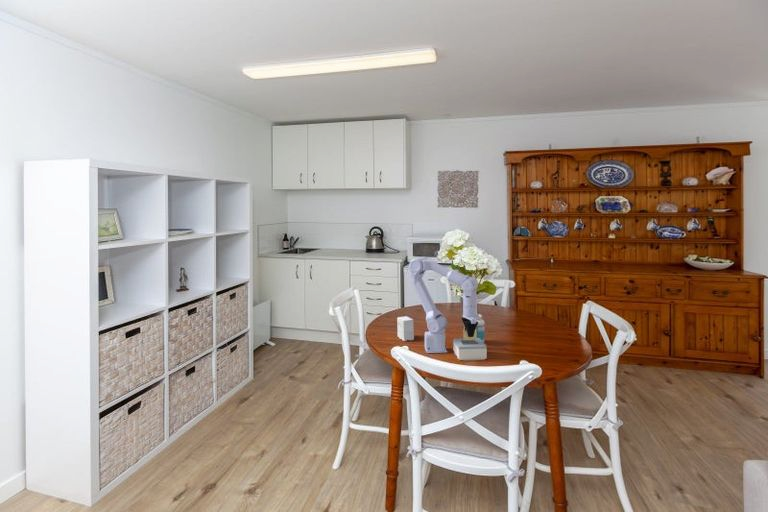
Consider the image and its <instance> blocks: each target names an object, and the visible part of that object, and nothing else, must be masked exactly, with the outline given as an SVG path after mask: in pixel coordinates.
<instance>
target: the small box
mask: <svg viewBox="0 0 768 512" xmlns="http://www.w3.org/2000/svg"><path fill="white" fill-rule="evenodd" d="M396 320H397V321H396V322H397V324H396V325H397V326H396V327H397V338H398V337H399V339H400V340H401V339H402V340H401V341H403V342H408V341H407V340H409V341H414V339H415V335H414V331H415V330H414V326H415V324H414V319H413V318H411V317H409V316H407V315H405V316H399V317H397V318H396Z"/></svg>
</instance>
